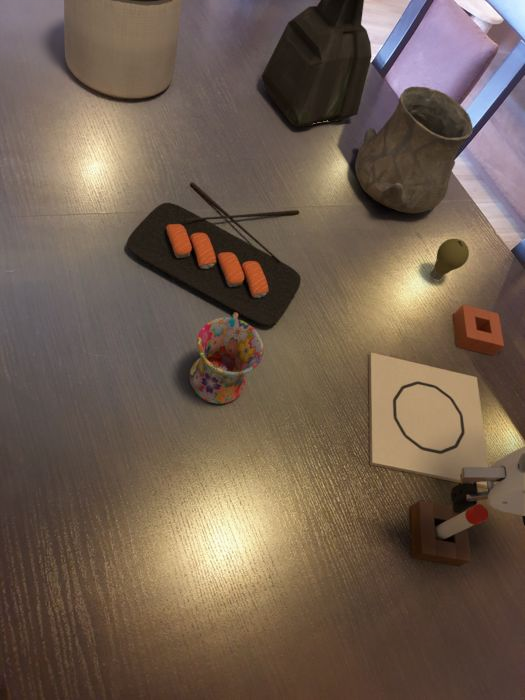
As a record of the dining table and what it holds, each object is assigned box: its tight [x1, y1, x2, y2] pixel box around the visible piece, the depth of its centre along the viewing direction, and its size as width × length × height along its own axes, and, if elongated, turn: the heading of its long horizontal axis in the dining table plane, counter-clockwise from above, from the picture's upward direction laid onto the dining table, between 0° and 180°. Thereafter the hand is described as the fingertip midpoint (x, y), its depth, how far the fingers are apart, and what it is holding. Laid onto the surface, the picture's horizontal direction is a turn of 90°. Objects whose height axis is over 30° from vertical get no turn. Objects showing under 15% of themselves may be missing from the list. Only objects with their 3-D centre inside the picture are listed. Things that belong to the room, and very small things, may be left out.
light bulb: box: [429, 238, 470, 281], centre depth 107 cm, size 6×6×10 cm
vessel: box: [354, 86, 474, 214], centre depth 114 cm, size 22×22×20 cm
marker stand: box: [409, 500, 472, 566], centre depth 81 cm, size 7×7×3 cm
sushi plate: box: [126, 181, 301, 327], centre depth 101 cm, size 29×30×4 cm
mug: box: [189, 311, 264, 405], centre depth 83 cm, size 12×9×11 cm
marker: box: [435, 503, 489, 541], centre depth 77 cm, size 2×2×12 cm
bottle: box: [261, 0, 373, 128], centre depth 118 cm, size 18×16×30 cm
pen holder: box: [452, 304, 505, 357], centre depth 104 cm, size 7×7×4 cm
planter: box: [63, 0, 184, 100], centre depth 112 cm, size 22×22×20 cm
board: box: [368, 352, 490, 489], centre depth 92 cm, size 20×20×1 cm
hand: (489, 508), depth 71 cm, fingers open, 9 cm apart
